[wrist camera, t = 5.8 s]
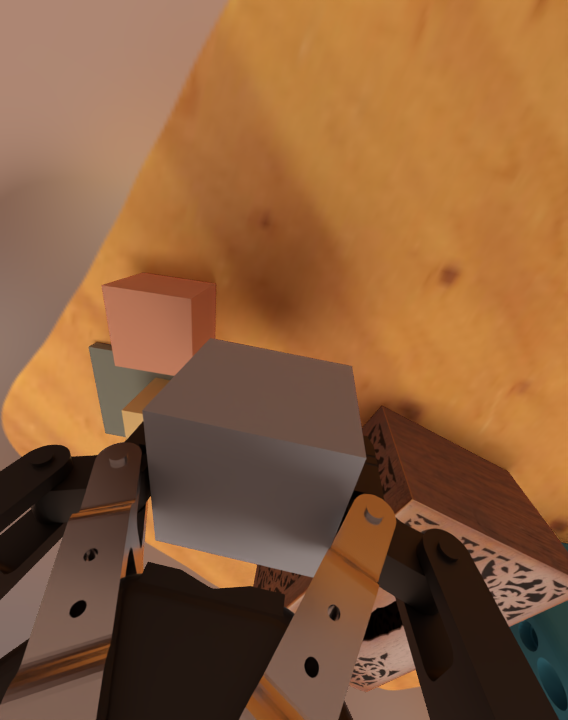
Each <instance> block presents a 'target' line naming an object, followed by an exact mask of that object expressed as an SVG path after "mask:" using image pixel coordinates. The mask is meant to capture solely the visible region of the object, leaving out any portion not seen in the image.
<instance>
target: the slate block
mask: <svg viewBox="0 0 568 720" xmlns="http://www.w3.org/2000/svg"><path fill="white" fill-rule="evenodd" d="M142 412H143V422H144V432H145V442H146V451H147V461H148V471H149V481H150V490H151V500H152V510H153V520H154V529H155V539H156V540H157V541H161V542H165V543H169V544H173V545H178V546H182V547H186V548H190V549H195V550H199V551H203V552H207V553H211V554H216V555H220V556H224V557H228V558H233V559H237V560H241V561H245V562H249V563H254V564H258V565H262V566H266V567H270V568H275V569H279V570H283V571H287V572H292V573H296V574H300V575H304V576H308V577H314V575H315V573H316V571H317V570H318V568H319V566H320V564H321V562H322V560H323V558H324V556H325V554H326V552H327V550H328V549H329V547H331V545H332V543H333V540H334V538H335V535H336V533H337V530H338V528H339V525H340V523H341V520H342V518H343V515H344V513H345V510H346V508H347V505H348V503H349V500H350V498H351V495H352V493H353V490H354V488H355V485H356V483H357V480H358V478H359V475H360V473H361V470H362V468H363V465H364V463H365V460H366V452H365V446H364V440H363V433H362V427H361V421H360V414H359V408H358V401H357V395H356V389H355V382H354V376H353V370H352V366H348V365H343V364H338V363H333V362H328V361H323V360H318V359H313V358H308V357H303V356H298V355H293V354H288V353H283V352H278V351H273V350H268V349H263V348H258V347H253V346H248V345H243V344H238V343H233V342H228V341H223V340H218V339H212V338H210V339H209V340H208V341H207V342H206V343H205V344H204V345H203V346H202V347H201V348H200V349H199V351H198V352H197V353H196V354H195V355H194V356H193V357H192V358H191V359H190V360H189V361H188V362H187V363H186V364H185V365H184V366H183V368H182V369H181V370H180V371H179V372H178V373H177V374H176V375H175V376H174V377H173V378H172V379H171V380H170V381H169V382H168V383H167V385H166V386H165V387H164V388H163V389H162V390H161V391H160V392H159V393H158V394H157V395H156V396H155V397H154V398H153V399H152V400H151V402H150V403H149V404H148V405H147V406H146V407H145V408H144V409H143V410H142Z"/></svg>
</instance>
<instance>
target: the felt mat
mask: <svg viewBox="0 0 568 720" xmlns="http://www.w3.org/2000/svg"><path fill="white" fill-rule="evenodd" d="M89 351H90V356H91V362H92V367H93V372H94V377H95V382H96V387H97V392H98V397H99V403H100V408H101V413H102V418H103V423H104V428H105V433H107V434H112V435H117V436H123V437H126V436H125V429H124V423H123V416H122V409H123V408H124V407H125V406H127V405H128V404H129V403H130V402H131V401H132V400H133V399H134V398H135V397H136V396H137V395H138V394H139V393H140V392H141V391H142V390H143V389H144V388H145V387H146V386H147V385H148V384H149V383H150V382H151V381H152V380H154V379H155V378H161V379H166V380H171V379H172V378H173V377H174V376H172V375H166V374H160V373H154V372H148V371H142V370H136V369H131V368H125V367H119V366H115V363H114V357H113V351H112V345H108V344H103V343H97V342H96V343H95V344H93V345H91V346H89Z"/></svg>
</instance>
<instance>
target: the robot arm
mask: <svg viewBox="0 0 568 720" xmlns="http://www.w3.org/2000/svg"><path fill="white" fill-rule="evenodd" d="M363 440H364V446H365V452H366V460H365V463H364V465H363V468H362V470H361V473H360V475H359V478H358V480H357V483H356V485H355V488H354V490H353V493H352V495H351V498H350V500H349V503H348V505H347V508H346V510H345V513H344V515H343V518H342V520H341V523H340V525H339V528H338V530H337V535H336V537H335V539H334V541H333V543H332V545H331V547H329V549H328V550H327V552H326V554H325V556H324V558H323V560H322V562H321V564H320V566H319V568H318V570H317V571H316V573H315V575H314V577H313V579H312V581H311V583H310V585H309V587H308V589H307V591H306V593H305V595H304V597H303V599H302V601H301V603H300V605H299V607H298V608H297V610H296V612H295V614H294V613H293V612H292V611H291V610H289V609H288V608H286V607H284V601H285V594H282V593H277V592H273V591H269V590H265V589H261V588H256V587H252V586H247V587H233V588H220V589H213V588H210V587H208V586H206V585H205V584H203V583H202V582H200V581H198V580H197V579H195V578H194V577H192V576H190V575H189V574H187V573H186V572H184V571H182V570H180V569H175V568H172V567H167V566H163V565H159V564H155V563H151V562H148V563H147V565H146V567H145V569H144V571H143V552H144V542H145V531H146V520H147V509H148V499H149V497H150V496H151V490H150V481H149V471H148V461H147V451H146V442H145V432H144V422H142V423H141V424H140V425H139V426H138V427H137V429H136V430H135V431H134V432H133V433H132V434H131V435H130V436H129V438H128V439H127V440H126V441H125V442H123V443H117V444H114V445H111V446H109V447H107V448H105V449H104V450H102V451H101V452H100V453H99V454H98V455H94V456H76V457H71V454H70V451H69V449H68V448H66V447H65V446H62V445H47V446H43V447H40V448H37V449H35V450H33V451H30V452H29V453H27V454H26V455H24V456H23V457H21V458H20V459H18V460H17V461H15V462H14V463H12V464H11V465H9V466H8V467H6V468H5V469H3V470H2V471H0V532H1V531H3V530H4V529H5V528H6V527H7V526H8V525H10V524H11V523H12V522H13V521H15V520H16V519H17V518H18V517H19V516H21V515H22V514H23V513H24V512H25V511H27V510H28V509H29V508H30V507H31V510H30V511H29V512H27V513H26V514H25V515H24V516H23V517H22V518H20V519H19V520H18V521H17V522H15V524H13V525H12V526H11V527H10V528H8V529H7V530H6V531H5V532H4V533H2V534H1V535H0V600H1V599H2V598H3V597H4V596H5V595H6V594H7V593H8V592H9V591H10V589H11V588H13V587H14V585H16V584H17V582H18V581H19V580H20V579H21V578H22V577H23V576H24V575H25V574H26V573H27V572H28V571H29V570H30V569H31V568H32V567H33V566H34V565H35V564H36V563H37V562H38V561H39V560H40V559H41V558H42V557H43V556H44V555H45V554H46V553H47V552H48V551H49V550H50V549H51V548H52V547H53V546H54V545H55V544H56V543H57V542H58V541H59V540H60V539H61V538H62V537H63V538H62V541H61V544H60V547H59V550H58V553H57V556H56V559H55V562H54V565H53V568H52V571H51V575H50V577H49V580H48V584H47V587H46V590H45V593H44V596H43V599H42V602H41V605H40V608H39V611H38V614H37V617H36V620H35V623H34V626H33V629H32V632H31V635H30V638H29V639H28V640H26V641H25V642H23V643H22V644H20V645H19V646H18V647H16V648H15V649H13V650H12V651H11V652H9V653H8V654H6V655H5V656H4V657H2V658H1V659H0V720H353V718H352V716H351V714H350V712H349V709H348V707H347V705H346V703H345V701H344V699H345V696H346V693H347V690H348V686H349V683H350V680H351V677H352V674H353V670H354V667H355V664H356V661H357V657H358V654H359V651H360V648H361V645H362V641H363V638H364V635H365V632H366V628H367V625H368V622H369V619H370V616H371V612H372V609H373V606H374V603H375V599H376V596H377V593H378V589H379V587H380V588H382V589H383V590H385V591H387V592H388V593H390V594H392V595H393V596H395V599H396V602H397V606H398V609H399V613H400V616H401V620H402V623H403V627H404V630H405V634H406V637H407V641H408V644H409V648H410V651H411V655H412V658H413V662H414V665H415V669H416V672H417V675H418V679H419V682H420V686H421V689H422V693H423V696H424V699H425V703H426V707H427V710H428V714H429V717H430V720H559V718H558V716H557V715H556V713H555V711H554V709H553V707H552V705H551V703H550V702H549V700H548V698H547V696H546V694H545V692H544V690H543V689H542V687H541V685H540V683H539V681H538V679H537V678H536V676H535V674H534V672H533V670H532V668H531V666H530V665H529V663H528V661H527V659H526V657H525V655H524V653H523V652H522V650H521V648H520V646H519V644H518V642H517V640H516V639H515V637H514V635H513V633H512V631H511V629H510V627H509V626H508V624H507V622H506V620H505V618H504V616H503V614H502V613H501V611H500V609H499V607H498V605H497V603H496V601H495V600H494V598H493V596H492V594H491V592H490V590H489V588H488V587H487V585H486V583H485V581H484V579H483V577H482V575H481V574H480V572H479V570H478V568H477V566H476V564H475V562H474V561H473V559H472V557H471V555H470V553H469V552H468V550H467V548H466V547H465V546H464V545H463V544H462V542H461V541H460V540H458V539H457V538H456V537H455V536H454V535H452V534H450V533H449V532H447V531H445V530H442V529H437V528H433V529H429V530H427V531H426V532H425V534H423V533H421V532H419V531H417V530H415V529H414V528H412V527H410V526H408V525H406V524H404V523H403V522H401V521H400V520H398V519H397V518H396V517H395V514H394V512H393V510H392V508H391V507H390V506H389V505H388V504H387V503H386V502H385V500H384V495H383V490H382V485H381V480H380V475H379V470H378V467H377V460H376V455H375V450H374V446H373V444H372V443H371V441H370V440H369V438H368V437H367V436H364V435H363Z"/></svg>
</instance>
